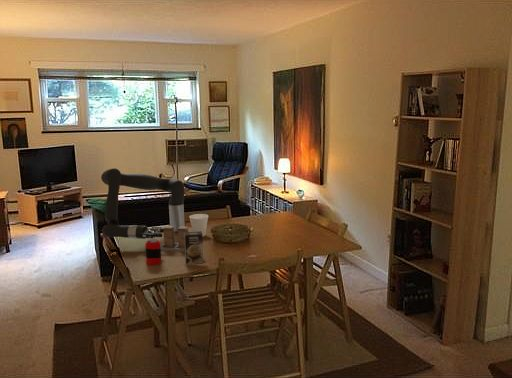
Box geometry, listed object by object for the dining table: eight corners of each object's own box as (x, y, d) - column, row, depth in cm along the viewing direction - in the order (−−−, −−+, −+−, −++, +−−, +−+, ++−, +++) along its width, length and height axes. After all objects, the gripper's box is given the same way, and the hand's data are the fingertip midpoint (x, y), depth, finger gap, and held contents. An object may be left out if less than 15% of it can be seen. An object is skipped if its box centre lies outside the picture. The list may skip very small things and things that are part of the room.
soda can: (143, 263, 244) (142, 240, 242) (156, 259, 249) (154, 237, 247) (151, 266, 239) (150, 244, 237) (164, 262, 244) (163, 240, 242)
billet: (167, 246, 267) (166, 225, 264) (174, 246, 266) (173, 226, 264) (164, 248, 262) (163, 228, 260) (172, 249, 261) (171, 228, 259)
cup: (211, 236, 288) (210, 217, 286) (192, 239, 284) (191, 219, 282) (206, 231, 299) (205, 213, 297) (187, 234, 295) (187, 215, 293)
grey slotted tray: (163, 246, 271) (162, 241, 271) (198, 247, 267) (197, 243, 267) (155, 253, 260) (154, 248, 259) (191, 254, 256) (191, 250, 255)
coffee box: (185, 265, 239) (184, 235, 236) (185, 261, 246) (183, 231, 242) (203, 264, 241) (202, 234, 238) (202, 260, 247) (201, 230, 244)
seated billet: (181, 246, 265) (180, 226, 263) (189, 247, 264) (188, 226, 262) (178, 249, 261) (177, 228, 258) (186, 249, 260) (185, 228, 258)
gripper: (131, 228, 258) (159, 230, 255) (142, 222, 272) (169, 223, 269) (132, 242, 259) (160, 243, 257) (143, 234, 273) (169, 235, 270)
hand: (164, 232), depth 263 cm, fingers open, 8 cm apart
